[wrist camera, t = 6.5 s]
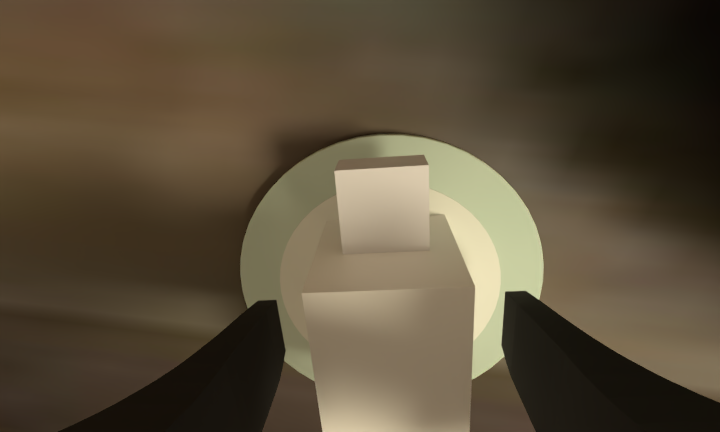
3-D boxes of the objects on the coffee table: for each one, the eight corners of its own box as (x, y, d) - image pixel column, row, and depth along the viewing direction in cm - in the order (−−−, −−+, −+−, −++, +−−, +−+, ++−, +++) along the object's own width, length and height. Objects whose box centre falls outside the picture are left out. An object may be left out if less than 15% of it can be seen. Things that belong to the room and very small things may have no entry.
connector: (443, 356, 15) (467, 468, 11) (342, 359, 15) (328, 469, 11) (445, 143, 12) (479, 185, 8) (318, 150, 12) (286, 196, 8)
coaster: (553, 121, 12) (561, 124, 12) (525, 387, 16) (530, 399, 16) (217, 144, 13) (210, 148, 12) (269, 392, 17) (265, 403, 16)
